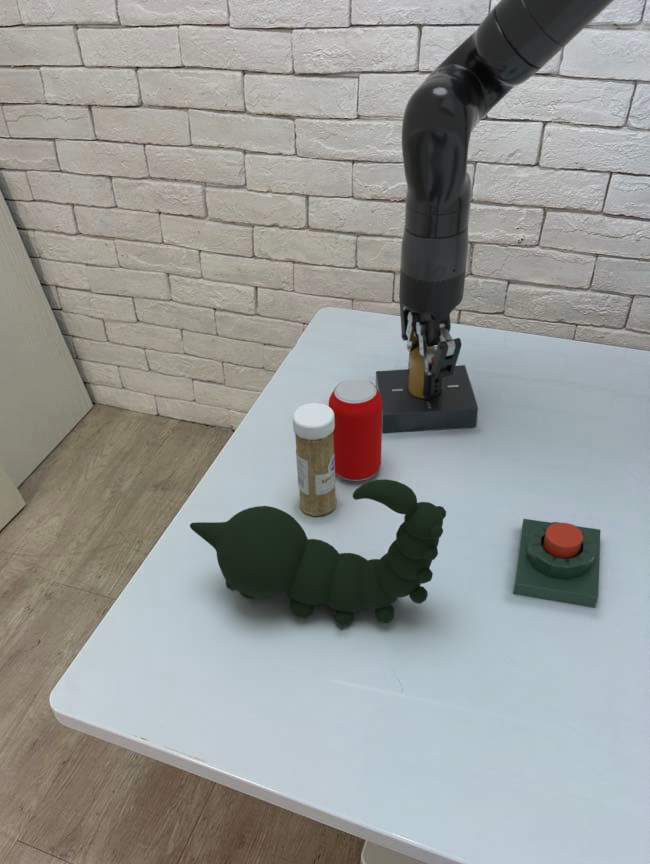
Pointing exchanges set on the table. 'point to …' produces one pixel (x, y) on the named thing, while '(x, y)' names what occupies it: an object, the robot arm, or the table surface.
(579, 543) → the button
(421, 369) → the knob
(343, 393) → the beverage can
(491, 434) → the table surface
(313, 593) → the toy figurine
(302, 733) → the table surface
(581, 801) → the table surface
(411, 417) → the panel
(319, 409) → the spice jar
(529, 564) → the button box
